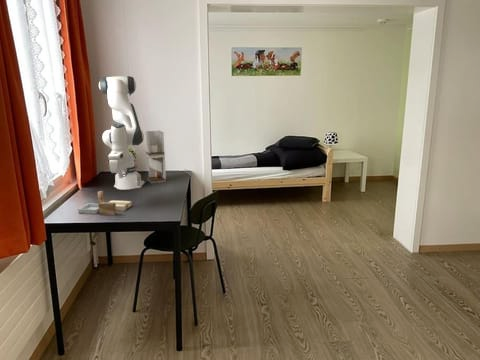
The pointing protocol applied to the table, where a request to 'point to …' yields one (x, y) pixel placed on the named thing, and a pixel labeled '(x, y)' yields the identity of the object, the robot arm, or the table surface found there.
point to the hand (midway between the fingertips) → (122, 177)
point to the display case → (155, 156)
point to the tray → (89, 209)
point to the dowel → (100, 196)
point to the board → (122, 205)
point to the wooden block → (107, 208)
